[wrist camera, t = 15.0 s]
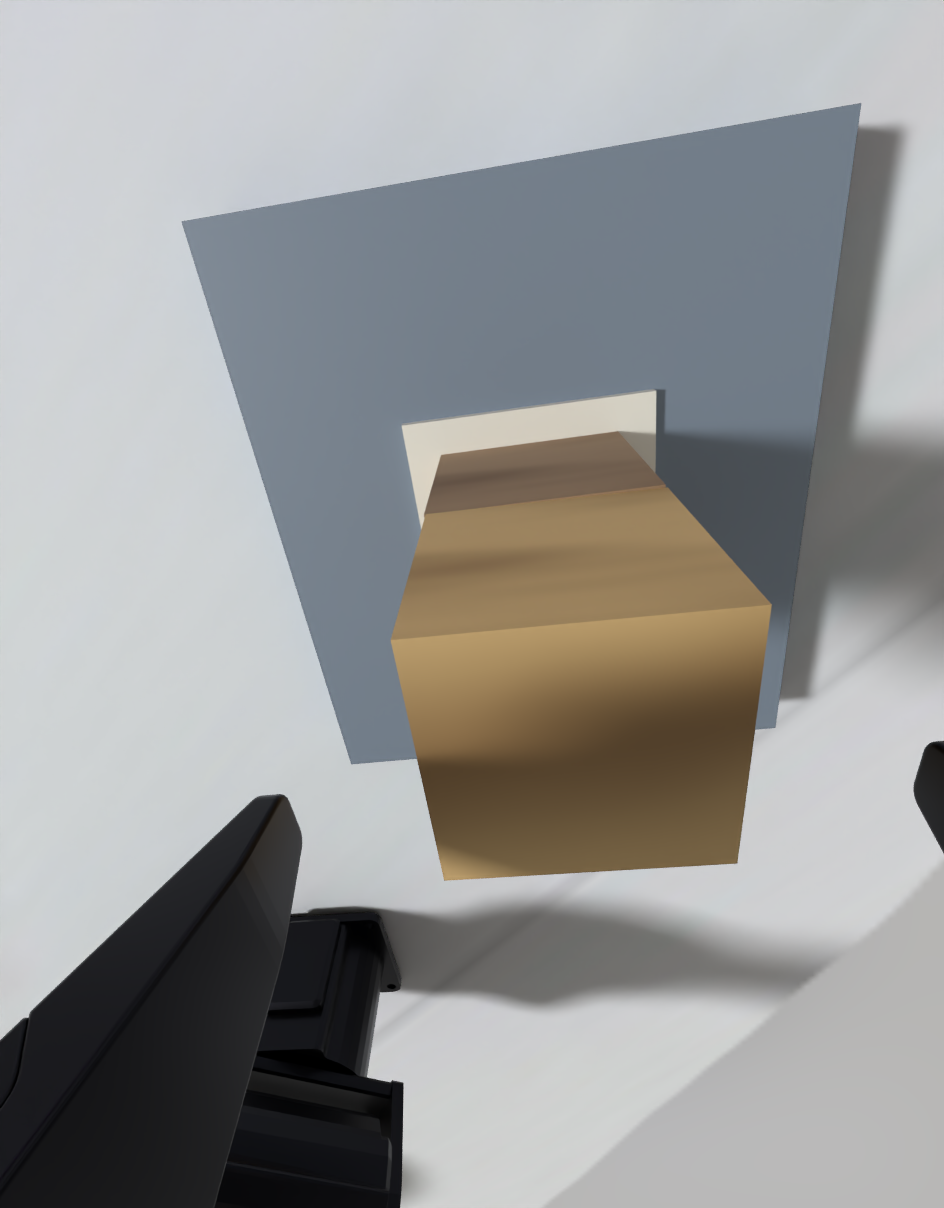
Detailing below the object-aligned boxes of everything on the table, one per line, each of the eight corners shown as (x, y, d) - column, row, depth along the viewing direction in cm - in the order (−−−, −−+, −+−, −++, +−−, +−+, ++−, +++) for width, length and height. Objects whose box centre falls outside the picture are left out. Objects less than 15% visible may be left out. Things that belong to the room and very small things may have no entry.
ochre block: (661, 686, 14) (736, 862, 10) (457, 702, 15) (444, 880, 10) (668, 487, 12) (771, 604, 8) (425, 514, 12) (390, 640, 8)
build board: (753, 694, 23) (778, 733, 21) (361, 730, 25) (349, 769, 23) (817, 124, 15) (868, 99, 13) (215, 228, 16) (175, 220, 14)
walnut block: (621, 589, 19) (662, 683, 14) (466, 607, 19) (458, 702, 15) (618, 431, 16) (665, 484, 12) (440, 454, 17) (424, 514, 12)
